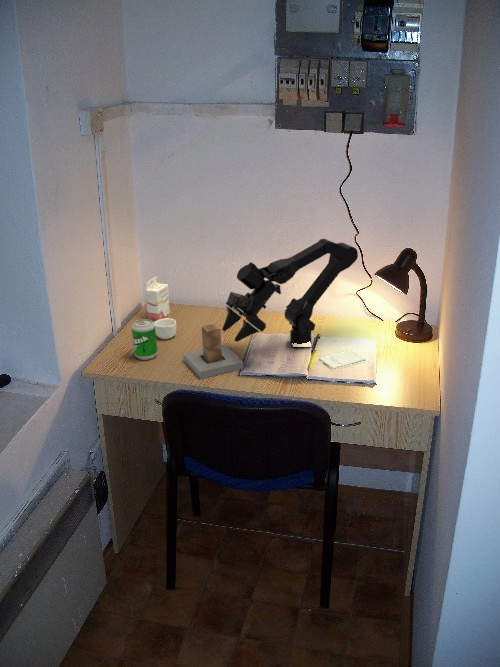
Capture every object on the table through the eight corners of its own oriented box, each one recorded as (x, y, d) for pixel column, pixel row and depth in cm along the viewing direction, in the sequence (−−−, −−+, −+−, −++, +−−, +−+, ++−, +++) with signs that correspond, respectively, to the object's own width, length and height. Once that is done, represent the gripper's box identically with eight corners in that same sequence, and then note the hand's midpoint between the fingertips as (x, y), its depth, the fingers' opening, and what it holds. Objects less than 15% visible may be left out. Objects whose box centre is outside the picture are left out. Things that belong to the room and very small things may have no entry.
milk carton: (159, 321, 243) (156, 283, 237) (147, 319, 245) (144, 282, 239) (170, 313, 250) (167, 276, 244) (159, 311, 252) (156, 275, 246)
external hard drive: (365, 363, 210) (332, 372, 205) (350, 353, 216) (318, 361, 211) (365, 358, 209) (333, 367, 204) (350, 349, 216) (318, 357, 211)
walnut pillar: (216, 360, 213) (214, 323, 207) (222, 366, 209) (220, 328, 204) (203, 363, 211) (201, 326, 205) (209, 369, 207) (207, 331, 202)
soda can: (148, 349, 221) (145, 316, 217) (162, 355, 217) (159, 322, 212) (130, 356, 217) (126, 322, 212) (143, 363, 212) (140, 329, 207)
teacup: (172, 342, 226) (171, 327, 224) (151, 340, 228) (150, 326, 226) (182, 330, 235) (181, 316, 233) (162, 329, 237) (161, 315, 235)
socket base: (224, 351, 219) (224, 344, 218) (243, 368, 207) (243, 361, 206) (183, 360, 213) (183, 353, 212) (200, 379, 201) (200, 371, 200)
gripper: (230, 274, 211) (200, 312, 212) (256, 292, 196) (224, 333, 196) (252, 293, 218) (223, 330, 218) (279, 311, 202) (248, 351, 203)
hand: (229, 335), depth 209 cm, fingers open, 9 cm apart
